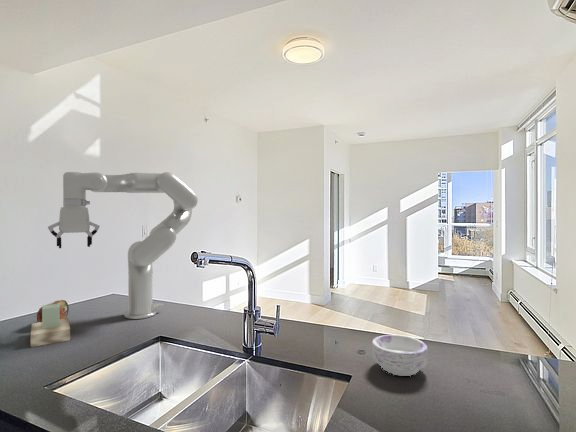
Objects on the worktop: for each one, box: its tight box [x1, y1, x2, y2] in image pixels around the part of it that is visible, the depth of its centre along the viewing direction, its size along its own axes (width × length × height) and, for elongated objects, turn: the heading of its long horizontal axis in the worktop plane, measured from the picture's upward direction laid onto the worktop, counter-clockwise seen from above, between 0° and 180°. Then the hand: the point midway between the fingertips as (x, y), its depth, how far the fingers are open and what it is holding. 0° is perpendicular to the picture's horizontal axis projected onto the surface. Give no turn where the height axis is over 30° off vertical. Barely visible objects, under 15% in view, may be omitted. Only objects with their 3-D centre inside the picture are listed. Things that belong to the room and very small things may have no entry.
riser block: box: [30, 317, 71, 348], centre depth 122 cm, size 11×14×4 cm
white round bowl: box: [371, 334, 429, 375], centre depth 100 cm, size 15×15×8 cm
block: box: [41, 304, 60, 329], centre depth 122 cm, size 5×5×7 cm
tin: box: [36, 299, 69, 323], centre depth 137 cm, size 15×3×8 cm, turn 179°
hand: (74, 247), depth 136 cm, fingers open, 9 cm apart
